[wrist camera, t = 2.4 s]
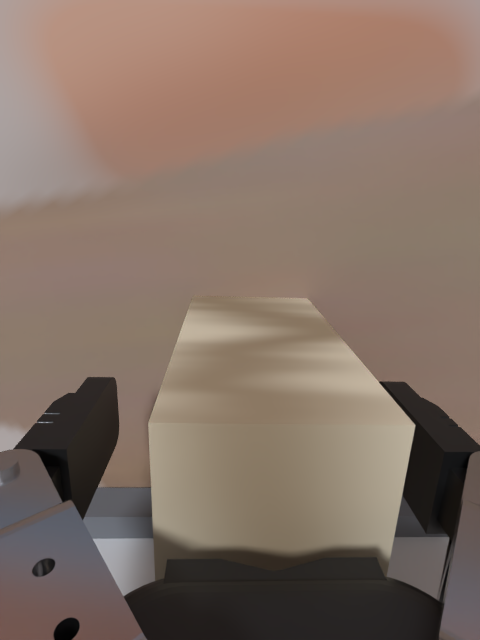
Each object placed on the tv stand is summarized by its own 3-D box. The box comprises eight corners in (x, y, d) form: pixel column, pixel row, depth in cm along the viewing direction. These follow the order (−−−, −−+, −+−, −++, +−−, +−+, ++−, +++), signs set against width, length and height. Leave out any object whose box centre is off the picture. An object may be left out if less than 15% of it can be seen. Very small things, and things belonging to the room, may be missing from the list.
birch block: (307, 298, 13) (415, 425, 6) (294, 445, 15) (364, 691, 8) (192, 295, 13) (147, 423, 6) (193, 444, 15) (160, 695, 7)
